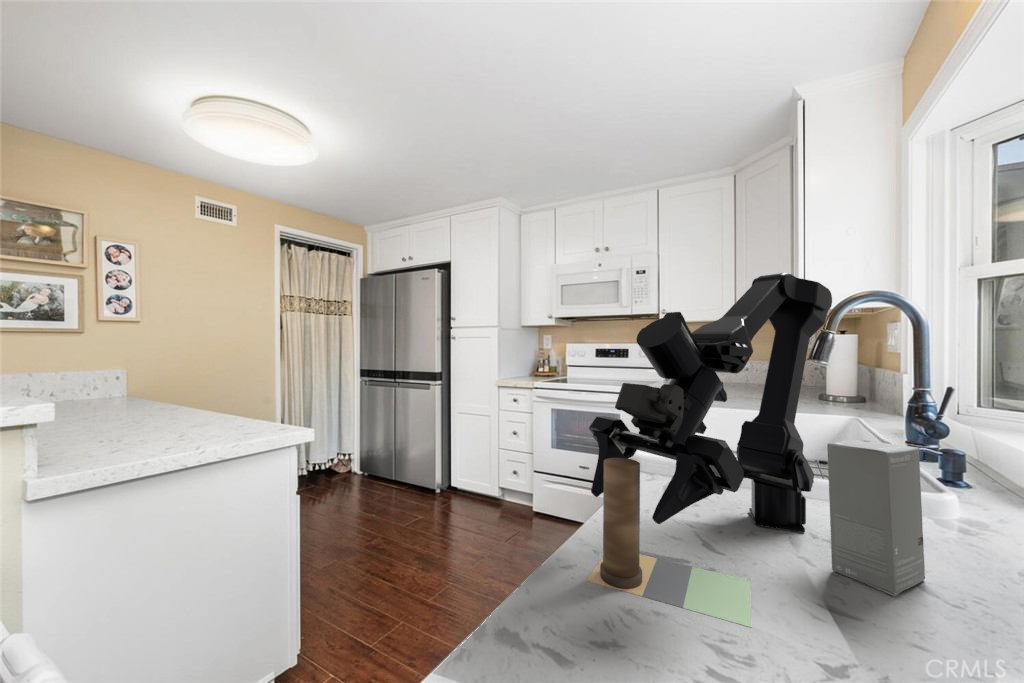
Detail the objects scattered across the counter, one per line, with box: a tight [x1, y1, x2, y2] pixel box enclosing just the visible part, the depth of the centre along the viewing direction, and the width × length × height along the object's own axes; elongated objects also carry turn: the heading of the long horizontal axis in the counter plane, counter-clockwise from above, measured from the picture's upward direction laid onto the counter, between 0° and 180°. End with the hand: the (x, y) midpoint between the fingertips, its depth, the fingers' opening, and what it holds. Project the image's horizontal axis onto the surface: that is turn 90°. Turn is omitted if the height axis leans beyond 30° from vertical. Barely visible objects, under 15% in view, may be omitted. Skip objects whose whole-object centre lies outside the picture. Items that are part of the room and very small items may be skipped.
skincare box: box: [826, 439, 926, 597], centre depth 51 cm, size 8×7×16 cm
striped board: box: [586, 553, 753, 629], centre depth 47 cm, size 16×9×1 cm, turn 61°
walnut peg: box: [600, 458, 642, 589], centre depth 48 cm, size 5×5×13 cm
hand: (622, 507), depth 48 cm, fingers open, 9 cm apart
